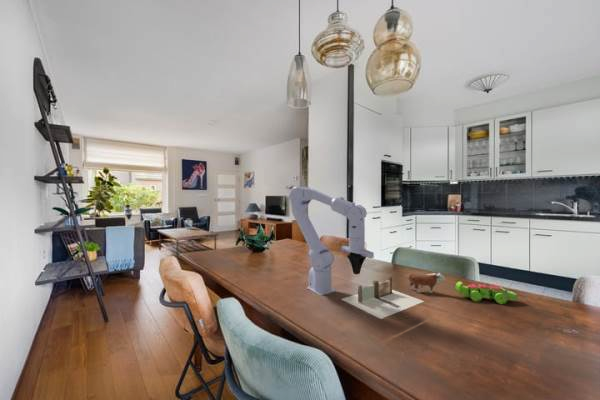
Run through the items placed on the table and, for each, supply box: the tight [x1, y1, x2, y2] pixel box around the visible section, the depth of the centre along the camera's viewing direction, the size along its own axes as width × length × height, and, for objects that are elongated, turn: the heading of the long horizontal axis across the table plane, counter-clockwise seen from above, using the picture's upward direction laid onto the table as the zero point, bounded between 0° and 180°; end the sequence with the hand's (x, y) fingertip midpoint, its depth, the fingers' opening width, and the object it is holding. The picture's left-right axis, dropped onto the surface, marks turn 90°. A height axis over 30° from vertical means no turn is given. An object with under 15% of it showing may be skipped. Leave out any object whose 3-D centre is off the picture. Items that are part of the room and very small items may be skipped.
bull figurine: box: [408, 272, 447, 294], centre depth 101 cm, size 4×13×8 cm, turn 78°
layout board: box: [341, 289, 425, 320], centre depth 92 cm, size 18×24×1 cm
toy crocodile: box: [454, 280, 519, 305], centre depth 94 cm, size 20×7×6 cm, turn 75°
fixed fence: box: [372, 276, 393, 298], centre depth 97 cm, size 10×2×6 cm, turn 123°
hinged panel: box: [357, 284, 374, 302], centre depth 92 cm, size 8×1×6 cm, turn 123°
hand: (356, 273), depth 95 cm, fingers closed
